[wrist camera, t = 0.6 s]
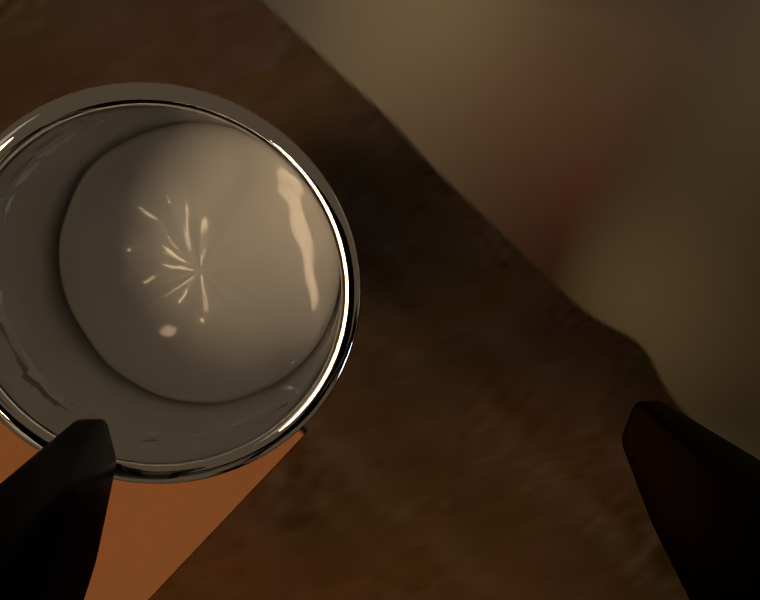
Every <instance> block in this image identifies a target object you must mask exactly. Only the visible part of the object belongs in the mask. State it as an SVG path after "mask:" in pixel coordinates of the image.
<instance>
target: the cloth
mask: <svg viewBox="0 0 760 600" xmlns="http://www.w3.org/2000/svg"><path fill="white" fill-rule="evenodd" d="M303 435H304V432H303V431H302V430H301V429H300V430H299V431H298V432H296V433H295V434H294V435H293V436H292V437H291V438H289V439H288V440H287V441H285V442H284V443H283V444H281V445H280V446H279V447H277V448H276V449H274V450H272V451H271V452H269V453H268V454H266V455H264V456H263V457H261V458H259V459H257V460H255V461H253V462H251V463H249V464H247V465H245V466H242V467H240V468H238V469H235V470H232V471H230V472H227V473H224V474H220V475H217V476H213V477H209V478H205V479H201V480H195V481H189V482H181V483H168V484H146V483H133V482H125V481H118V480H113V483H112V488H111V493H110V497H109V502H108V507H107V512H106V517H105V522H104V526H103V531H102V536H101V541H100V546H99V550H98V555H97V559H96V563H95V566H94V570H93V573H92V577H91V580H90V583H89V586H88V589H87V592H86V595H85V598H84V600H148V599H149V598H150V597H151V596H152V595H153V594H154V593H155V592H156V591H157V590H158V589H159V587H160V586H161V585H162V584H163V583H164V582H165V581H166V580H167V579H168V578H169V577H170V576H171V575H172V574H173V573H174V572H175V571H176V570H177V568H178V567H179V566H180V565H181V564H182V563H183V562H184V561H185V560H186V559H187V558H188V557H189V556H190V555H191V554H192V553H193V552H194V551H195V549H196V548H197V547H198V546H199V545H200V544H201V543H202V542H203V541H204V540H205V539H206V538H207V537H208V536H209V535H210V534H211V533H212V531H213V530H214V529H215V528H216V527H217V526H218V525H219V524H220V523H221V522H222V521H223V520H224V519H225V518H226V517H227V516H228V515H229V514H230V512H231V511H232V510H233V509H234V508H235V507H236V506H237V505H238V504H239V503H240V502H241V501H242V500H243V499H244V498H245V497H246V496H247V495H248V493H249V492H250V491H251V490H252V489H253V488H254V487H255V486H256V485H257V484H258V483H259V482H260V481H261V480H262V479H263V478H264V477H265V475H266V474H267V473H268V472H269V471H270V470H271V469H272V468H273V467H274V466H275V465H276V464H277V463H278V462H279V461H280V460H281V459H282V458H283V456H284V455H285V454H286V453H287V452H288V451H289V450H290V449H291V448H292V447H293V446H294V445H295V444H296V443H297V442H298V441H299V440H300V439H301V437H302V436H303ZM38 451H39V450H37V449H35V448H34V447H32V446H31V445H29V444H28V443H26V442H25V441H24V440H22V439H21V438H20V437H18V436H17V435H16V434H14V433H13V432H12V431H11V430H10V429H8V428H7V427H6V426H5V425H4V424H3V423H2V422H1V421H0V483H1V482H3V481H4V480H5V479H6V478H7V477H9V476H10V475H11V474H12V473H13V472H15V471H16V470H17V469H18V468H19V467H21V466H22V465H23V464H24V463H25V462H26V461H28V460H29V459H30V458H31V457H32V456H34V455H35V454H36V453H37V452H38Z"/></svg>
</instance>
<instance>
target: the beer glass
mask: <svg viewBox="0 0 760 600" xmlns="http://www.w3.org/2000/svg"><path fill="white" fill-rule="evenodd" d="M360 305H361V276H360V266H359V259H358V254H357V249H356V244H355V241H354V237H353V234H352V231H351V228H350V225H349V222H348V219H347V217H346V215H345V212H344V210H343V208H342V206H341V204H340V202H339V200H338V198H337V196H336V194H335V192H334V191H333V189H332V187H331V186H330V184H329V183H328V181H327V180H326V178H325V177H324V175H323V174H322V172H321V171H320V170H319V169H318V167H317V166H316V165H315V164H314V162H313V161H312V160H311V159H310V158H309V157H308V155H307V154H306V153H305V152H304V151H303V150H302V149H301V148H300V147H299V146H298V145H297V144H296V143H295V142H294V141H293V140H291V139H290V138H289V137H288V136H287V135H286V134H284V133H283V132H282V131H281V130H280V129H278V128H277V127H275V126H274V125H273V124H271V123H270V122H268V121H267V120H265V119H264V118H262V117H261V116H259V115H258V114H256V113H254V112H252V111H251V110H249V109H247V108H245V107H243V106H241V105H239V104H237V103H235V102H233V101H230V100H228V99H225V98H223V97H220V96H217V95H215V94H212V93H209V92H205V91H202V90H198V89H194V88H190V87H185V86H180V85H174V84H166V83H154V82H126V83H115V84H108V85H101V86H96V87H91V88H87V89H83V90H80V91H76V92H73V93H70V94H67V95H65V96H62V97H59V98H57V99H55V100H52V101H50V102H48V103H46V104H44V105H42V106H40V107H38V108H36V109H34V110H33V111H31V112H29V113H28V114H26V115H24V116H23V117H21V118H20V119H18V120H17V121H15V122H14V123H13V124H12V125H10V126H9V127H8V128H6V129H5V130H4V131H3V132H2V133H1V134H0V421H1V422H2V423H3V424H4V425H5V426H6V427H7V428H8V429H10V430H11V431H12V432H13V433H14V434H16V435H17V436H18V437H20V438H21V439H22V440H24V441H25V442H26V443H28V444H29V445H31V446H32V447H34V448H35V449H37V450H39V451H40V450H41V449H42V448H43V447H44V446H46V445H47V444H48V443H49V442H50V441H52V440H53V439H54V438H55V437H56V436H58V435H59V434H60V433H61V432H62V431H63V430H65V429H66V428H67V427H68V426H69V425H71V424H72V423H73V422H75V421H77V420H80V419H103V420H105V421H106V422H107V424H108V427H109V431H110V435H111V439H112V443H113V448H114V452H115V456H116V467H115V473H114V478H113V480H118V481H125V482H133V483H146V484H168V483H181V482H189V481H195V480H201V479H205V478H209V477H213V476H217V475H220V474H224V473H227V472H230V471H232V470H235V469H238V468H240V467H242V466H245V465H247V464H249V463H251V462H253V461H255V460H257V459H259V458H261V457H263V456H264V455H266V454H268V453H269V452H271V451H272V450H274V449H276V448H277V447H279V446H280V445H281V444H283V443H284V442H285V441H287V440H288V439H289V438H291V437H292V436H293V435H294V434H295V433H296V432H298V431H299V430H300V429H301V428H302V427H303V426H304V425H305V424H306V423H307V422H308V421H309V420H310V419H311V418H312V417H313V415H314V414H315V413H316V412H317V411H318V410H319V408H320V407H321V406H322V405H323V403H324V402H325V400H326V399H327V398H328V396H329V395H330V393H331V392H332V390H333V388H334V387H335V385H336V383H337V382H338V380H339V378H340V376H341V374H342V372H343V370H344V368H345V365H346V363H347V361H348V358H349V356H350V353H351V350H352V347H353V344H354V340H355V336H356V332H357V327H358V322H359V315H360Z"/></svg>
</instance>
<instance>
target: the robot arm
mask: <svg viewBox="0 0 760 600" xmlns="http://www.w3.org/2000/svg"><path fill="white" fill-rule="evenodd" d="M622 444H623V448H624V451H625V454H626V456H627V459H628V462H629V464H630V467H631V470H632V472H633V475H634V477H635V480H636V483H637V485H638V488H639V491H640V493H641V496H642V499H643V501H644V504H645V506H646V509H647V512H648V514H649V517H650V519H651V521H652V524H653V526H654V528H655V530H656V533H657V535H658V537H659V539H660V541H661V543H662V545H663V547H664V549H665V551H666V553H667V555H668V557H669V559H670V561H671V563H672V565H673V567H674V569H675V571H676V573H677V575H678V577H679V579H680V581H681V583H682V585H683V587H684V589H685V591H686V593H687V595H688V597H689V599H690V600H760V460H758V459H757V458H755V457H754V456H752V455H750V454H748V453H747V452H745V451H744V450H742V449H740V448H739V447H737V446H735V445H733V444H732V443H730V442H728V441H727V440H725V439H723V438H722V437H720V436H718V435H717V434H715V433H713V432H712V431H710V430H708V429H707V428H705V427H703V426H702V425H700V424H698V423H697V422H695V421H693V420H692V419H690V418H688V417H687V416H685V415H683V414H682V413H680V412H678V411H677V410H675V409H673V408H672V407H670V406H668V405H667V404H665V403H663V402H661V401H641V402H638V403H637V404H636V405H635V406H634V407H633V410H632V412H631V415H630V417H629V420H628V422H627V424H626V427H625V429H624V432H623V436H622ZM115 467H116V456H115V452H114V448H113V443H112V439H111V435H110V431H109V427H108V424H107V422H106V421H105V420H103V419H80V420H77V421H75V422H73V423H72V424H71V425H69V426H68V427H67V428H66V429H65V430H63V431H62V432H61V433H60V434H59V435H58V436H56V437H55V438H54V439H53V440H52V441H50V442H49V443H48V444H47V445H46V446H44V447H43V448H42V449H41V450H40V451H38V452H37V453H36V454H35V455H34V456H32V457H31V458H30V459H29V460H28V461H26V462H25V463H24V464H23V465H22V466H21V467H19V468H18V469H17V470H16V471H15V472H13V473H12V474H11V475H10V476H9V477H7V478H6V479H5V480H4V481H3V482H1V483H0V600H84V598H85V595H86V592H87V589H88V586H89V583H90V580H91V577H92V573H93V570H94V566H95V563H96V559H97V555H98V550H99V546H100V541H101V536H102V531H103V526H104V522H105V517H106V512H107V507H108V502H109V497H110V493H111V488H112V483H113V478H114V473H115Z"/></svg>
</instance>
